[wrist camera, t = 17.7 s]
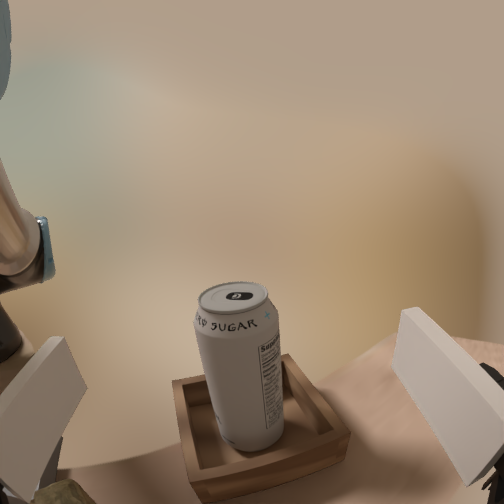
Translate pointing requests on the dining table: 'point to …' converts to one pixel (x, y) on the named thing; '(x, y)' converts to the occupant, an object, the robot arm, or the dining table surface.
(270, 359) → the energy drink can
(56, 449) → the tray
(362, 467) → the dining table surface
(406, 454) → the dining table surface
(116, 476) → the dining table surface
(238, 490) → the walnut bin
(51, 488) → the stone block
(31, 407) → the robot arm
